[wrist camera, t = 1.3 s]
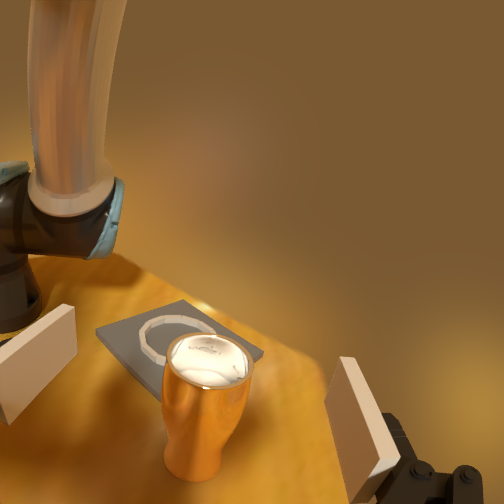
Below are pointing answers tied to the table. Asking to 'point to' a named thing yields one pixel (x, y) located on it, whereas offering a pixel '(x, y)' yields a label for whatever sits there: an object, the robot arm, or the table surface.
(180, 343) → the beer glass
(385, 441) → the robot arm
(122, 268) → the table surface
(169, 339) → the coaster board
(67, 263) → the table surface
